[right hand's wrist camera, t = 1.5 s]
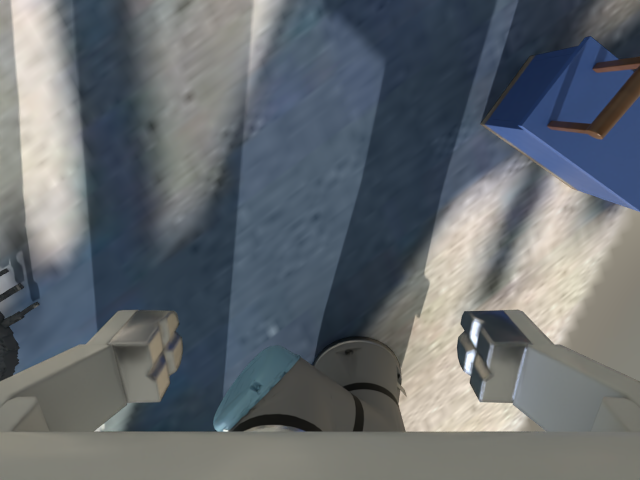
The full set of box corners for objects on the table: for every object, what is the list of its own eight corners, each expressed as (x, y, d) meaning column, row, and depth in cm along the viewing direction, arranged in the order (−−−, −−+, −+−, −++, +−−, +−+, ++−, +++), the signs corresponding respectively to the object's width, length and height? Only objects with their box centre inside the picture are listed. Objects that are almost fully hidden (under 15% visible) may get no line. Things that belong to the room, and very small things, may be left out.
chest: (480, 124, 48) (523, 130, 38) (530, 55, 45) (591, 42, 35) (572, 188, 51) (635, 210, 41) (624, 128, 48) (705, 136, 38)
